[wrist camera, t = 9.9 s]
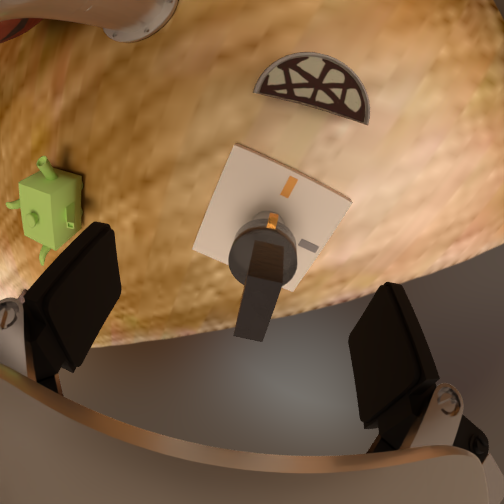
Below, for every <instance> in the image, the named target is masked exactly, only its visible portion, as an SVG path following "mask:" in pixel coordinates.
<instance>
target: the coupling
mask: <svg viewBox="0 0 504 504" xmlns="http://www.w3.org/2000/svg"><path fill="white" fill-rule="evenodd" d="M228 264H229V268H230V271H231V273H232V274H233V276H234V277H235V278H236V279H237V280H238V281H239V282H240V283H241V284H243V285H244V289H243V294H242V298H241V303H240V308H239V312H238V317H237V322H236V326H235V331H234V336H236V337H241V338H246V339H250V340H255V341H260V342H262V341H263V338H264V336H265V333H266V330H267V327H268V324H269V322H270V319H271V316H272V313H273V310H274V308H275V305H276V302H277V299H278V296H279V293H280V290H281V287H282V286H284V285H285V284H287V283H288V282H289V281H290V280H291V279H292V278H293V276H294V275H295V273H296V270H297V246H296V240H295V237H294V235H293V233H292V232H291V231H290V229H289V228H288V227H286V226H285V225H284V224H282V223H280V222H278V214H274V213H270V214H269V218H268V219H255V220H252V221H250V222H248V223H246V224H244V225H243V226H242V227H241V228H240V229H239V230H238V232H237V233H236V235H235V238H234V241H233V244H232V247H231V250H230V253H229V257H228Z"/></svg>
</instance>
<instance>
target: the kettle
mask: <svg viewBox="0 0 504 504" xmlns="http://www.w3.org/2000/svg"><path fill="white" fill-rule="evenodd" d="M37 166H38V168H39V169H40V170H41V171H39V172H37V173H35V174H33V175H31V176H29V177H27V178H25V179H24V180H22V181H20V182H19V196H20V199H18V200H16V201H13V202H7V203H6V206H7V207H8V208H9V209H18V208H21V215H22V222H23V229H24V234H25V236H27V237H29V238H31V239H33V240H35V241H37V242H39V243H41V244H43V246H42V249H41V251H40V255H39V259H40V263H41V265H42V266H43V265H44V261H45V257H46V255H47V253H48V252H49V251H50V249H53V250H55V251H57V250H58V249H59V248H60V247H61V246H62V245H63V244H64V243H65V242H66V241H68V240H69V239H70V238H71V237H72V236H73V235H74V234H75V233H77V232H78V231H79V230H80V229H81V216H82V214H83V210H82V208H81V190H82V189H83V182H82V176H80V175H77V174H73V173H70V172H66V171H63V170H59V169H56V168H53V167H52V166H51V164H50V162H49V161H48V159H47V157H46V156H42V157H40V158H39V159H38V161H37Z"/></svg>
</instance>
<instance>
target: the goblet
mask: <svg viewBox="0 0 504 504" xmlns="http://www.w3.org/2000/svg"><path fill="white" fill-rule="evenodd" d="M43 19H44V18H18V19H10V20H5V21H1V22H0V43H2V42H5V41H8V40H10V39H13V38H15V37H17V36H20V35H21V34H23V33H25V32H27V31H28V30H30V29H31V28H32V27H34V26H35V25H36V24H38V23H39V22H40V21H41V20H43Z"/></svg>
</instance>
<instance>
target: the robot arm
mask: <svg viewBox="0 0 504 504" xmlns="http://www.w3.org/2000/svg"><path fill="white" fill-rule="evenodd" d="M172 1H173V2H172ZM171 2H172V3H171ZM177 3H178V0H0V22H1V21H5V20H10V19H18V18H44V19H54V20H62V21H70V22H76V23H82V24H87V25H93V26H97V27H102V28H103V30H104V32H105V33H106V35H107V36H108V37H110V38H111V39H113V40H115V41H119V42H126V43H129V42H136V41H139V40H142V39H145V38H147V37H149V36H151V35H152V34H154V33H155V32H157V31H158V30H159V29H160V28H162V27H163V26H164V25H165V24H166V22H167V21H168V20H169V19H170V17H171V16H172V15H173V13H174V11H175V9H176V6H177ZM148 31H149V32H148ZM120 294H121V282H120V275H119V268H118V261H117V253H116V244H115V234H114V231H113V230H112V229H111V227H110V225H109V224H105V223H100V222H93V223H92V224H90V225H89V226H88V227H87V228H86V229H85V230H84V231H83V232H82V233H81V234H80V235H79V236H78V237H77V238H76V239H75V240H74V241H73V242H72V243H71V244H70V245H69V246H68V247H67V248H66V249H65V250H64V251H63V252H62V253H61V254H60V255H59V256H58V257H57V258H56V259H55V260H54V261H53V263H52V264H51V265H50V266H49V267H48V268H47V269H46V270H45V271H44V272H43V274H42V275H41V276H40V277H39V278H38V279H37V280H36V282H35V283H34V284H33V285H32V286H31V287H30V289H29V290H28V291H27V292H26V294H25V295H24V296H23V297H24V299H25V302H24V303H23V304H22V303H21V302H20V301H19V300H18V299H16V298H5V299H3V300H1V301H0V504H500V502H501V501H502V499H503V497H504V476H503V474H502V473H501V471H500V469H499V467H498V466H497V464H496V463H495V461H494V459H493V457H492V456H491V454H490V453H489V454H488V450H489V449H488V448H489V445H488V439H487V437H486V436H485V434H484V433H483V432H482V431H481V430H480V429H478V428H477V427H476V426H475V425H474V424H473V423H472V422H471V421H469V420H468V419H467V418H466V417H465V416H464V415H462V413H463V400H462V397H461V395H460V393H459V392H458V390H457V389H456V388H455V387H454V386H452V385H450V384H447V383H443V384H440V385H438V386H437V387H436V384H435V382H436V381H437V380H439V379H440V378H439V375H438V372H437V369H436V366H435V363H434V360H433V358H432V355H431V352H430V349H429V347H428V344H427V342H426V339H425V337H424V334H423V332H422V329H421V327H420V324H419V322H418V319H417V317H416V315H415V313H414V310H413V308H412V306H411V303H410V301H409V299H408V297H407V295H406V293H405V290H404V288H403V287H402V285H400V284H396V283H391V282H386V283H385V284H384V285H381V286H380V287H379V288H378V290H377V291H376V293H375V295H374V297H373V298H372V300H371V302H370V303H369V305H368V307H367V308H366V310H365V312H364V313H363V315H362V316H361V318H360V320H359V321H358V323H357V324H356V326H355V327H354V329H353V330H352V332H351V333H350V336H349V340H348V343H349V348H350V354H351V360H352V366H353V372H354V379H355V385H356V392H357V399H358V407H359V415H360V420H361V421H362V422H364V429H373V428H379V434H378V436H377V437H376V439H375V440H374V442H373V443H372V445H371V446H370V448H369V449H368V451H367V452H366V454H357V455H343V456H288V455H272V454H260V453H250V452H243V451H235V450H229V449H222V448H216V447H211V446H205V445H201V444H196V443H192V442H187V441H183V440H179V439H175V438H171V437H168V436H164V435H161V434H157V433H154V432H150V431H147V430H144V429H141V428H138V427H134V426H131V425H129V424H126V423H123V422H121V421H118V420H115V419H113V418H110V417H108V416H105V415H103V414H100V413H98V412H96V411H93V410H91V409H88V408H86V407H84V406H82V405H80V404H78V403H75V402H74V401H71V400H69V399H67V398H65V397H64V395H63V391H62V387H61V383H60V379H59V374H58V372H59V370H60V368H61V367H62V368H64V369H66V370H68V371H70V372H72V373H74V371H75V369H76V367H79V366H81V364H82V363H83V361H84V359H85V357H86V355H87V353H88V351H89V349H90V348H91V346H92V344H93V342H94V340H95V338H96V337H97V335H98V333H99V331H100V329H101V328H102V326H103V324H104V322H105V321H106V319H107V317H108V315H109V314H110V312H111V310H112V309H113V307H114V305H115V304H116V302H117V300H118V299H119V297H120Z"/></svg>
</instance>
